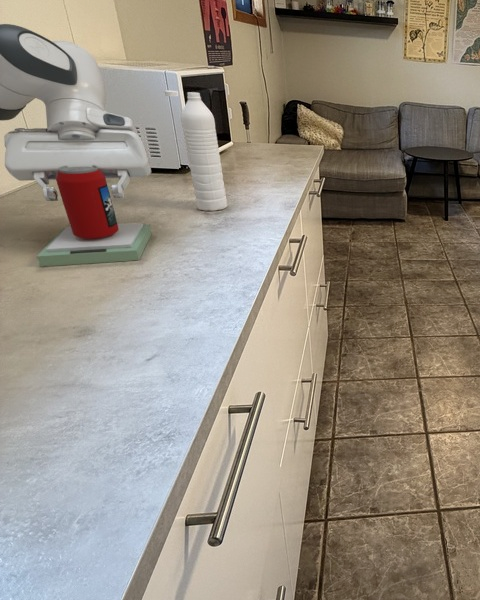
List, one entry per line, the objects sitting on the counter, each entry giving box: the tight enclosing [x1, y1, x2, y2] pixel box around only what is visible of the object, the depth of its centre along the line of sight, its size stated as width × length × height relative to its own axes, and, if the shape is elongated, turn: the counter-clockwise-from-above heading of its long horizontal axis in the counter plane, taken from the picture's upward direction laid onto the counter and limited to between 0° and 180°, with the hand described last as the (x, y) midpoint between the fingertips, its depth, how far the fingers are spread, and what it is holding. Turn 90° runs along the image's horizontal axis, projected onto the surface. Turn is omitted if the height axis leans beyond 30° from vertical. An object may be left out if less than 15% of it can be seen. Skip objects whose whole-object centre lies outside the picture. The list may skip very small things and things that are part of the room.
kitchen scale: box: [36, 222, 153, 268], centre depth 85 cm, size 14×14×2 cm
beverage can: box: [55, 165, 119, 240], centre depth 82 cm, size 7×7×12 cm
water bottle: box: [164, 89, 228, 212], centre depth 105 cm, size 9×6×25 cm
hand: (85, 197), depth 81 cm, fingers open, 8 cm apart
